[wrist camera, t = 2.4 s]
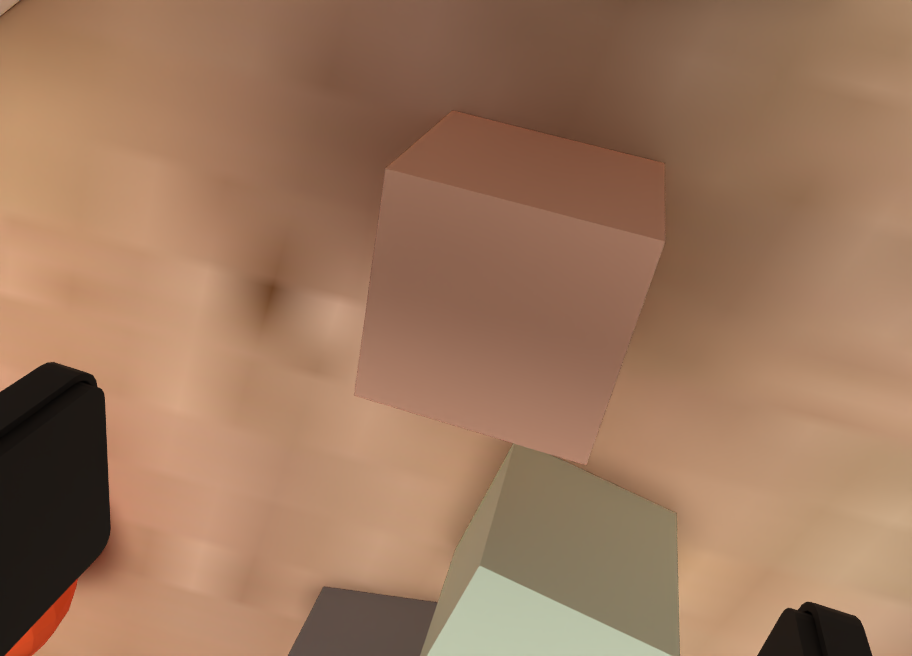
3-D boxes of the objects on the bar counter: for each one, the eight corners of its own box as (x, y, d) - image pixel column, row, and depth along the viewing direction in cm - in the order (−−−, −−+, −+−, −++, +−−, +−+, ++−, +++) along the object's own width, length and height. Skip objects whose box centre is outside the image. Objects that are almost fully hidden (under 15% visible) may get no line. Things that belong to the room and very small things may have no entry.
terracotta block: (453, 109, 17) (385, 168, 13) (664, 162, 17) (665, 241, 13) (420, 295, 20) (354, 395, 16) (603, 346, 19) (586, 465, 15)
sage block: (516, 437, 21) (479, 565, 17) (676, 511, 21) (679, 659, 17) (456, 547, 24) (411, 682, 20) (598, 614, 24) (584, 765, 19)
